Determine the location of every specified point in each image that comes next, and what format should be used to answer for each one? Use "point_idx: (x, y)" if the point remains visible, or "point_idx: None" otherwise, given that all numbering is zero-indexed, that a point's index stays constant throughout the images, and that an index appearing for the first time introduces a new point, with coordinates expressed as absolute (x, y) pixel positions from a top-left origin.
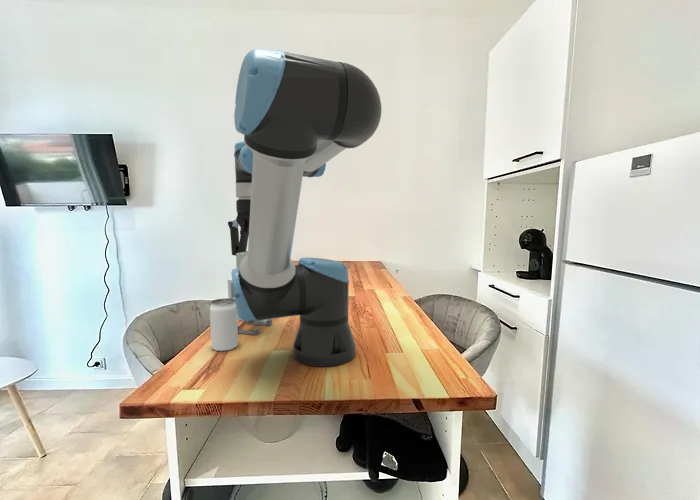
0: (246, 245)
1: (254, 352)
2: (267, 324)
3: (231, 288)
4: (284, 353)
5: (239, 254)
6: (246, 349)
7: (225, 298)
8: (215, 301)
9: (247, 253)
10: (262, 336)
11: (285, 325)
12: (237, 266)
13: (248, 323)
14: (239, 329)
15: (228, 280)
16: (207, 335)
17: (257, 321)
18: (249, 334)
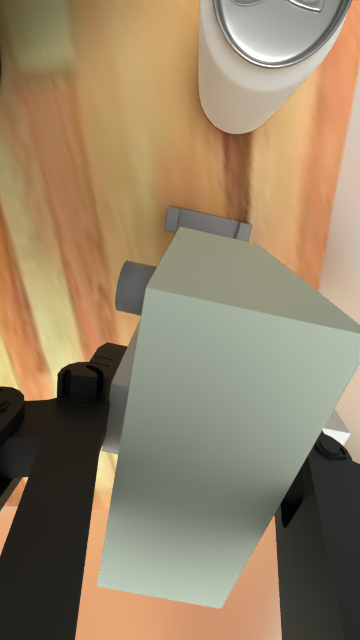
0: (287, 626)
1: (126, 34)
2: None
3: None
4: (27, 31)
5: (310, 320)
6: (162, 64)
7: (286, 61)
8: (339, 12)
9: (196, 356)
10: (148, 196)
11: (111, 295)
12: (291, 275)
13: None
14: None
15: (344, 429)
16: (325, 198)
17: None
18: (193, 211)
